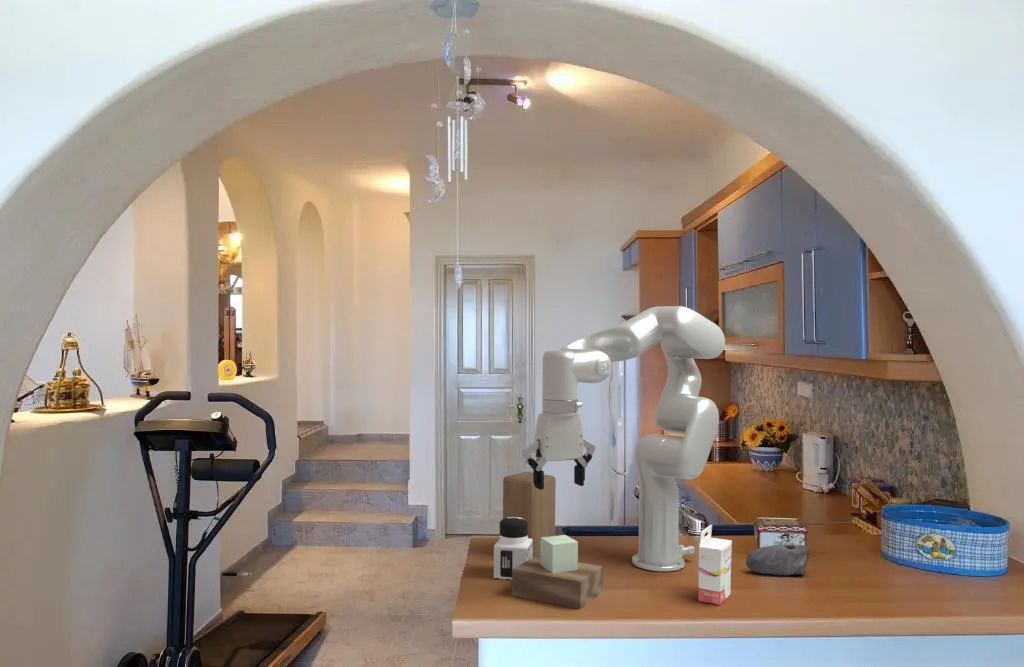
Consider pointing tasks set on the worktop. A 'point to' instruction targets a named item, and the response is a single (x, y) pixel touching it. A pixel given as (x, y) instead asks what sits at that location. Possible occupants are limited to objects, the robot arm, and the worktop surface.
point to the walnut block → (557, 583)
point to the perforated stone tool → (779, 559)
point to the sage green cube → (559, 553)
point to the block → (531, 505)
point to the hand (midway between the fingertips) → (559, 486)
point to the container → (511, 547)
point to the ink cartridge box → (714, 568)
